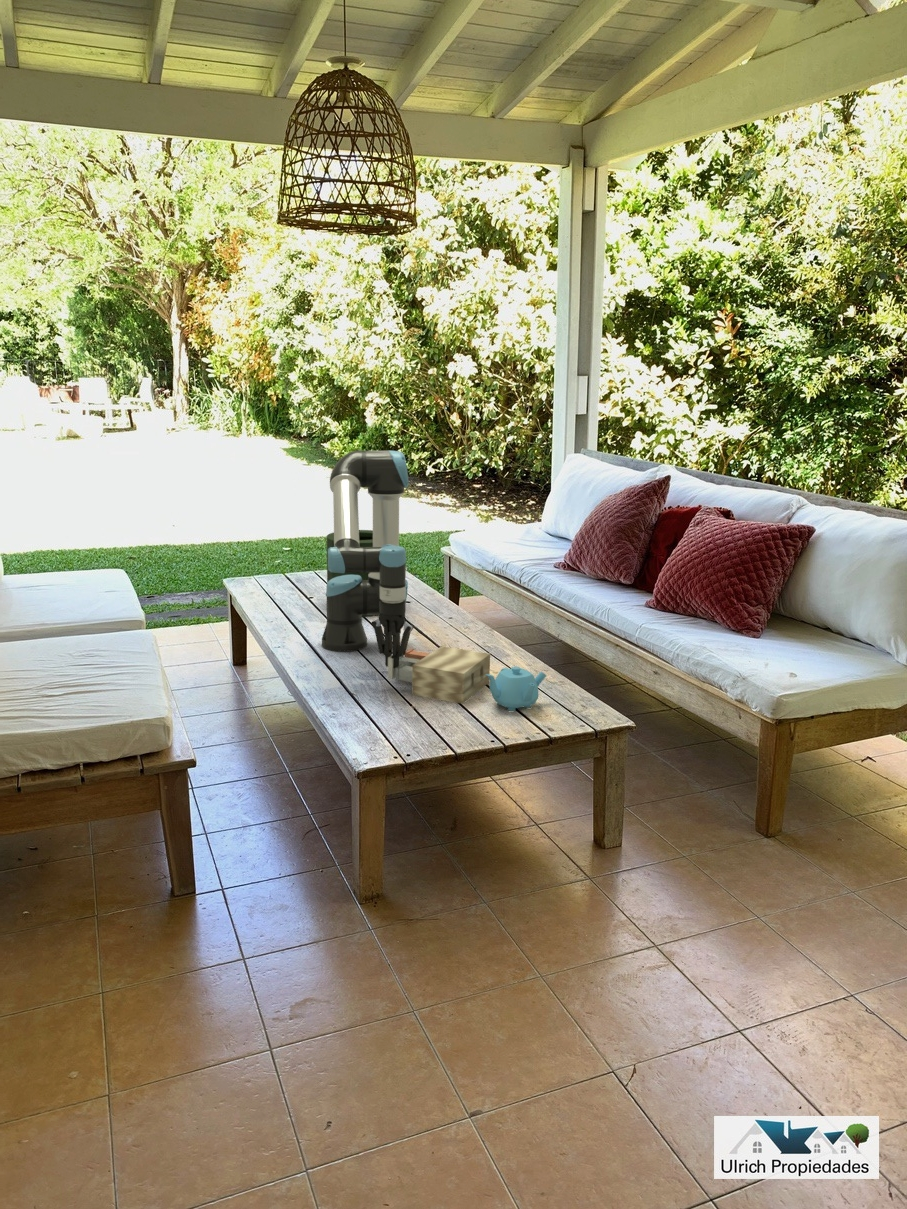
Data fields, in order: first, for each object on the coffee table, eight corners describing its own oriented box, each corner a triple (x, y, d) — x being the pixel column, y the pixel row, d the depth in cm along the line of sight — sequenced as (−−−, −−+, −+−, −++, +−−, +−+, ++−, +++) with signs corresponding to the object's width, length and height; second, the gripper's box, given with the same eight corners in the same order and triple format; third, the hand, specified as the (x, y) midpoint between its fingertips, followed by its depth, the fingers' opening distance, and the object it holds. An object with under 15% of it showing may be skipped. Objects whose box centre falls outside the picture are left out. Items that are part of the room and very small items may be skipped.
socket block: (412, 694, 277) (412, 665, 274) (440, 674, 294) (441, 646, 292) (463, 703, 271) (463, 673, 268) (489, 682, 288) (490, 653, 286)
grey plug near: (395, 680, 279) (395, 667, 278) (401, 676, 283) (401, 663, 282) (448, 689, 273) (448, 676, 271) (454, 685, 276) (454, 672, 275)
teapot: (531, 718, 261) (533, 679, 258) (483, 711, 265) (484, 672, 262) (545, 700, 275) (547, 663, 272) (500, 693, 279) (501, 656, 276)
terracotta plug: (404, 664, 293) (404, 652, 292) (410, 661, 297) (410, 648, 295) (455, 673, 286) (455, 660, 285) (460, 669, 290) (461, 656, 289)
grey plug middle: (394, 671, 287) (394, 658, 286) (400, 667, 290) (400, 655, 289) (445, 680, 280) (446, 667, 279) (451, 676, 284) (451, 663, 283)
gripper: (366, 600, 275) (366, 678, 281) (406, 605, 269) (406, 684, 276) (378, 594, 281) (378, 670, 287) (418, 599, 276) (417, 677, 282)
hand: (392, 677), depth 281 cm, fingers closed
